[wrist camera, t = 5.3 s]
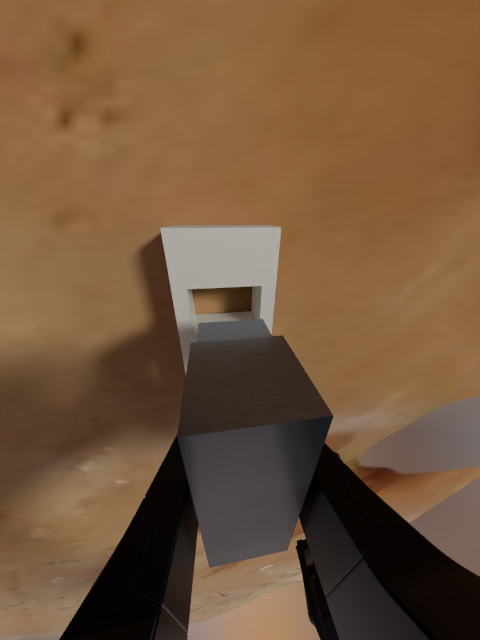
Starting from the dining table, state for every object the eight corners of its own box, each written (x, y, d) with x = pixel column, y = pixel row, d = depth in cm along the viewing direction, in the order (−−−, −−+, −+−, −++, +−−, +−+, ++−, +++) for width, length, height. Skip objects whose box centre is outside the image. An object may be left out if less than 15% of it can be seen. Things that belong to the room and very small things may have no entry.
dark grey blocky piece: (257, 425, 12) (286, 550, 8) (209, 432, 12) (209, 567, 7) (265, 308, 8) (333, 416, 4) (194, 312, 8) (177, 437, 3)
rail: (257, 392, 18) (264, 416, 16) (196, 399, 17) (194, 425, 15) (267, 225, 12) (281, 227, 9) (169, 225, 11) (160, 227, 9)
